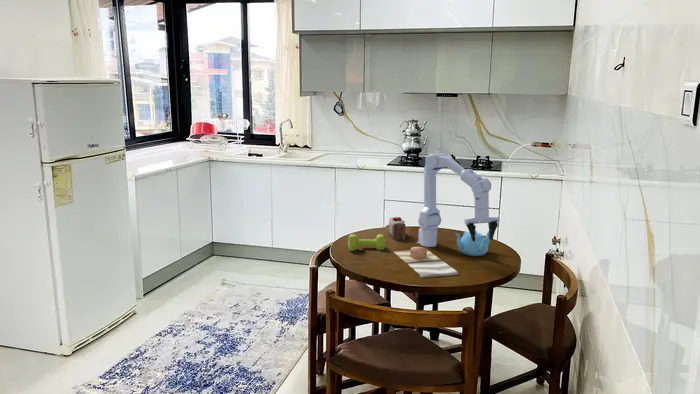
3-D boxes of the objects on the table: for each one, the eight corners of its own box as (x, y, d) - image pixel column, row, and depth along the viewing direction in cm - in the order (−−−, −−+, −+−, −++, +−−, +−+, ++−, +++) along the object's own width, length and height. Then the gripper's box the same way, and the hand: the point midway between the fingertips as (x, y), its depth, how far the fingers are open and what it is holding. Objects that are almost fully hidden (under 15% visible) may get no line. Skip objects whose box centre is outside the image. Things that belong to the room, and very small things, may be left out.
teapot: (460, 246, 243) (462, 225, 241) (493, 250, 237) (495, 229, 235) (453, 254, 230) (454, 232, 228) (487, 259, 224) (488, 236, 222)
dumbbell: (348, 252, 231) (348, 237, 229) (348, 247, 238) (348, 232, 237) (385, 253, 231) (385, 237, 229) (383, 247, 239) (384, 232, 237)
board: (393, 253, 230) (393, 251, 229) (426, 251, 234) (426, 249, 234) (420, 277, 200) (420, 275, 200) (458, 274, 204) (458, 272, 204)
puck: (407, 255, 225) (408, 247, 224) (422, 254, 227) (423, 246, 226) (413, 260, 218) (414, 252, 218) (429, 258, 220) (429, 251, 219)
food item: (387, 232, 264) (387, 213, 263) (402, 232, 265) (403, 213, 263) (391, 240, 251) (392, 220, 249) (408, 239, 252) (408, 220, 250)
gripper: (468, 210, 211) (468, 243, 212) (502, 208, 212) (502, 240, 214) (462, 208, 218) (463, 240, 219) (495, 206, 219) (496, 237, 221)
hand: (482, 240), depth 217 cm, fingers open, 7 cm apart
